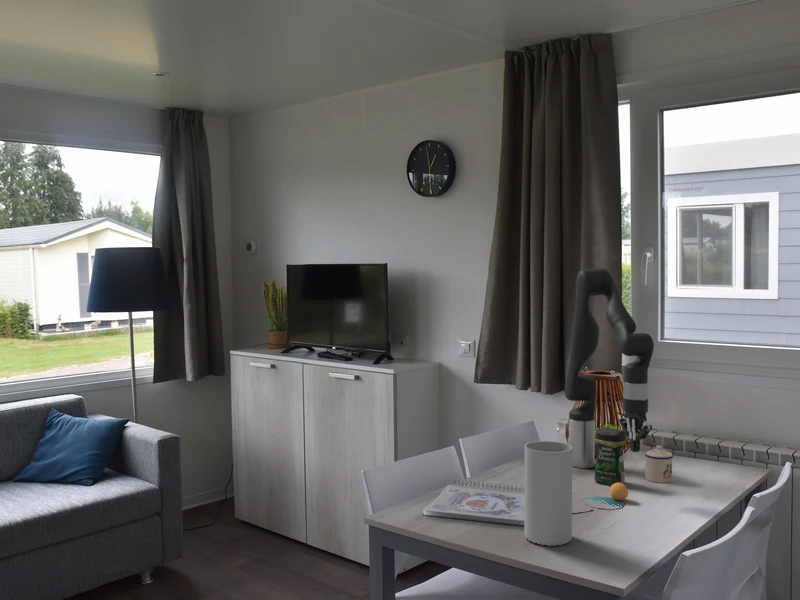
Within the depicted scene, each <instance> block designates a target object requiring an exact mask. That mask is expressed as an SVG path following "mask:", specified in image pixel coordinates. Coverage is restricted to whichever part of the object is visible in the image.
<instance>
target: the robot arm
mask: <svg viewBox="0 0 800 600" xmlns="http://www.w3.org/2000/svg"><path fill="white" fill-rule="evenodd" d="M575 281H576V282H575V307H574V309H575V310H574V319H573V326H572V334H571V343H570V355H569V362H568V368H567V372H566V378H565V381H564V383H565V384H564V395H565V398H566V399H567V400H568V401H573V402H583V403H581V405H580V406H577V407H575V408H573V409H571V410H570V411H569V412H568V437H567V444H568V445H570V446H572V468H578V469H591V468H594V467H595V460H596V459H595V452H596V451H595V450H596V449H595V447H596V446H595V445H596V442H595V436H596V425H595V424H596V420H595V419H596V405H597V404H596V403H597V400H596V399H597V381H596V379H595V377H594V376H593V375H579V374H580V372H581V370H582V368H583V366H585V364H586V362H588V360H589V359H590V358H591V357H592V356H593V355H594V353H595V352H596V351H597V348H598V346H599V338H600V327H599V325H598V323H597V320H596V319H595V317H594V316H593V314H592V312H591V310H590V303H589V302H590V298H591V297H595V296H602V295H603V296H604V297H605V298H606V300H607V305H606V311H605V315H606V316H605V317H606V320H607V322H608V324H609V325H610V326H611V327H610V328H611V329H612V331H613V332H614V334H615V338H616V342H617V347H618V350H619V352H621V354H622V355H625V356H627V357H635V356H636V357H635V360H634V361H632V362H629V363H627V364H625V365H624V368H623V374H624V375H623V379H624V381H623V388H622V390H623V392H622V410H623V412H625V413H624V414H623V415H624V417H623V418H620V419H619V423H620V426H621V428H622V430H623V431H624V433H625V437H628V438H629V440H630V441H629V442H630V444H629V445H630V446H629V447H630V451H631V452H632V453H638V452H640V449H641V440H645V439H646V438H647V436H648V435H649V433H650V432H651V430H652V428H653V426H652V424H649V423H648V422H647V421H648V419H647V415H646V414H647V413H648V412H649V386H648V385H649V384H648V382H649V381H648V376H649V375H648V373H649V366H650V363H651V360H652V356H653V353H654V350H655V349H654V347H655V343H654V340H653V337H652V336H651V334H650V333H649V334H648V333H646V332H638V333H637V332H636V330H637V325H636V324H637V323H636V322H635V320H634V318H633V317H632V316H631V314H630V313H629V312H628V309H626V306H625V305H624V303H623V301H622V298H621V295H620V293H619V291H618V288H617V286H616V283H615V281H614V279H613V276H612V274H611V273H610V272H609V271H608V270H607V269H605V268H588V269H582V270H580V271H579V272H578V274H577V276H576V280H575Z"/></svg>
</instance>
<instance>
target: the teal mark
mask: <svg viewBox="0 0 800 600" xmlns="http://www.w3.org/2000/svg"><path fill="white" fill-rule="evenodd" d="M586 499H592V500H594V501H597V502H598V501H599V500H600V501H601V500H604V501H605V502H606V503H608V504H609V505H612V504H614V505H616V506H619V507H621V506H623V507H625V503H624V501H623V500H622V501H617V500H615V499H613V498H612V497H608V496H592V497H587V498H586ZM594 501H593V502H594ZM601 502H602V503H603V504H606V503H604V502H603V501H601ZM594 503H595V502H594ZM598 503H599V502H598ZM596 504H597V503H596ZM600 504H601V503H600ZM618 504H619V505H618ZM614 505H612V506H614ZM620 505H621V506H620ZM614 507H615V506H614Z"/></svg>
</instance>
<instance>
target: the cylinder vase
mask: <svg viewBox="0 0 800 600" xmlns="http://www.w3.org/2000/svg"><path fill="white" fill-rule="evenodd" d="M572 502H573V467H572V446H570V445H568V443H565V442H559V441H549V440H537V441H531V442H527V443H525V444H524V521H523V522H524V527H523V528H524V531H523V532H524V534H523V535H524V537H525V539H526V540H527V539H528V540H527V541H529V542H530V541H531V542H530V543H532V542H533V543H532V544H535V543H537V544H536V545H539V544H540V545H539V546H544V545H547V546H546V547H556V546H557V545H559V546H564V545H567V544H568V543H570V542H571V540H572V538H573V531H572V530H573V514H572ZM566 543H567V544H566ZM563 544H564V545H563ZM557 547H558V546H557Z"/></svg>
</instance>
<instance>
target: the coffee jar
mask: <svg viewBox="0 0 800 600" xmlns="http://www.w3.org/2000/svg"><path fill="white" fill-rule="evenodd" d="M595 445H596V459H595V460H596V461H595V466H594V467H595V469H594V481H595V482H596V483H598V484H603V485H608V486H612V485H613V484H615V483H622V484H625V481H626V479H625V477H626V475H625V473H626V472H625V459H624V448H625V447H624V446H625V445H626V435H625V433H624V430H623V429H616V428H610V427H603V426H601V427H598V428H597V429H596V430H595Z"/></svg>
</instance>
